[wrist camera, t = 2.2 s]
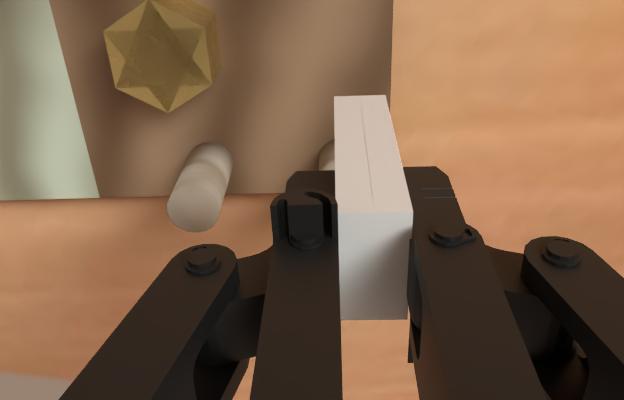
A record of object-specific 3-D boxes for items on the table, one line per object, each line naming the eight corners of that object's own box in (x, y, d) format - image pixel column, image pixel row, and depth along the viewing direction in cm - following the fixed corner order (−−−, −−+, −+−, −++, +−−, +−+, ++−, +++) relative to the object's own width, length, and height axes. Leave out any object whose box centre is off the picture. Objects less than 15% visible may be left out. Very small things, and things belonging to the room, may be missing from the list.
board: (-13, 190, 34) (-77, 252, 28) (-139, -153, 25) (-264, -157, 20) (385, 179, 33) (397, 241, 27) (395, -178, 24) (415, -190, 19)
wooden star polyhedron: (137, 93, 29) (121, 114, 27) (117, -12, 27) (96, 0, 24) (224, 90, 29) (215, 111, 27) (211, -16, 27) (200, -4, 24)
